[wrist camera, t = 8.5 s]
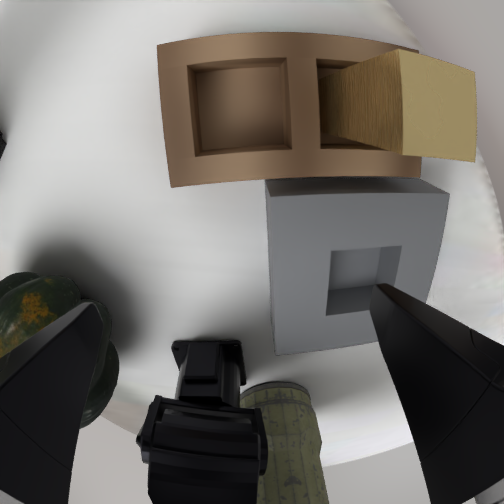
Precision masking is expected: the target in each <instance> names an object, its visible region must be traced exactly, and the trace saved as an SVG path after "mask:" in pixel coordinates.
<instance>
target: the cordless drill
mask: <svg viewBox="0 0 504 504" xmlns="http://www.w3.org/2000/svg"><path fill="white" fill-rule="evenodd" d="M2 134H3V133H2V132H1V131H0V159H1V156H2V154H3V151H4V149H5V146H6V143H5V142H4V140H3V139H2Z"/></svg>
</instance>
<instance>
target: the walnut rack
mask: <svg viewBox="0 0 504 504" xmlns="http://www.w3.org/2000/svg"><path fill="white" fill-rule="evenodd" d="M397 49H401V50H406V51H410V52H414V53H418V54H419V51H418V50H414V49H410V48H406V47H402V46H398V45H393V44H389V43H384V42H379V41H373V40H367V39H361V38H354V37H347V36H339V35H329V34H317V33H298V32H256V33H238V34H226V35H216V36H207V37H200V38H193V39H187V40H181V41H175V42H170V43H165V44H160V45H157V58H158V75H159V88H160V100H161V111H162V121H163V130H164V139H165V147H166V155H167V163H168V170H169V178H170V184H171V188H174V187H182V186H191V185H200V184H210V183H221V182H232V181H245V180H259V179H276V178H296V177H328V176H389V177H419V178H420V173H421V159H422V156H409V155H401V154H398V153H395V152H392V151H388V150H385V149H382V148H379V147H375V146H372V145H369V144H365V143H361V142H358V141H354V140H350V139H347V138H343V137H339V136H335V135H330V134H326V133H322V132H320V118H319V97H318V80H319V79H321V78H323V77H326V76H328V75H330V74H332V73H335V72H337V71H340V70H342V69H344V68H347V67H349V66H352V65H355V64H357V63H360V62H362V61H365V60H368V59H370V58H373V57H376V56H379V55H382V54H385V53H388V52H391V51H394V50H397Z"/></svg>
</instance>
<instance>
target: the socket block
mask: <svg viewBox="0 0 504 504" xmlns="http://www.w3.org/2000/svg"><path fill="white" fill-rule="evenodd" d="M265 192H266V211H267V231H268V253H269V276H270V301H271V323H272V331H273V339H274V346H275V354H276V355H286V354H296V353H305V352H313V351H321V350H328V349H335V348H342V347H349V346H355V345H361V344H366V343H372V342H377V341H378V338H377V335H376V331H375V328H374V325H373V321H372V318H371V315H370V311H369V305H370V300H371V295H372V289H373V286H374V285H375V284H380V283H388V284H389V285H391V286H393V287H395V288H397V289H399V290H401V291H403V292H405V293H407V294H409V295H411V296H412V297H414V298H416V299H418V300H420V301H422V302H424V303H426V300H427V297H428V293H429V290H430V286H431V283H432V279H433V276H434V272H435V268H436V264H437V260H438V256H439V251H440V247H441V242H442V237H443V232H444V227H445V221H446V215H447V209H448V203H449V195H450V194H449V193H447V192H445V191H443V190H441V189H439V188H437V187H435V186H433V185H431V184H429V183H427V182H425V181H423V180H421V179H410V178H311V179H286V180H268V181H265Z"/></svg>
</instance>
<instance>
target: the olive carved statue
mask: <svg viewBox="0 0 504 504" xmlns="http://www.w3.org/2000/svg"><path fill="white" fill-rule="evenodd" d="M310 400H311V399H310V395H309V393H308V391H307V390H306V389H305V388H303V387H302V386H300V385H296V384H292V383H281V382H277V383H268V384H263V385H259V386H256V387H253V388H251V389H249V390H247V391H245V392H244V393H242V394H241V395H240V407H241V408H254V407H256V408H261V412H262V417H263V422H264V427H265V432H266V436H267V442H268V463H267V469H266V472H265V474H264V475H263V476H259V481H258V491H257V504H329V501H328V495H327V490H326V485H325V480H324V476H323V471H322V466H321V461H320V456H319V455H320V450H321V445H322V440H321V436H320V431H319V427H318V423H317V418H316V414H315V412H314V410H313V408H312V406H311V402H310Z"/></svg>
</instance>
